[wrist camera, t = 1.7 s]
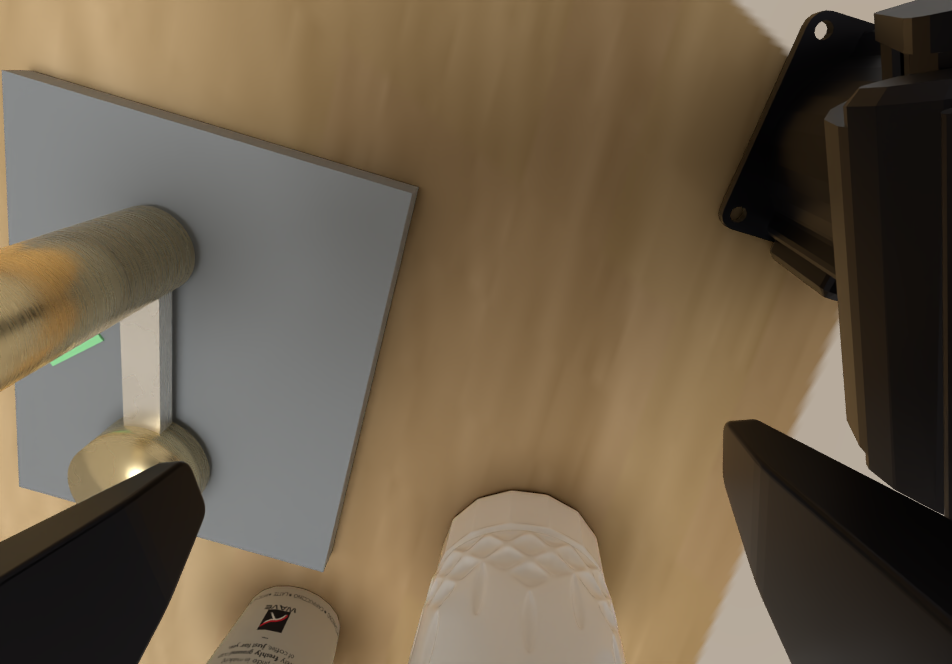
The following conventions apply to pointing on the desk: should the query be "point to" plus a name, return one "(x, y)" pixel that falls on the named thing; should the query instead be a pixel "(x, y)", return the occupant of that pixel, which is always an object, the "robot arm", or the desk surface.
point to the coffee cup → (282, 630)
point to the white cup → (518, 589)
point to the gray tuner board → (217, 304)
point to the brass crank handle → (93, 311)
